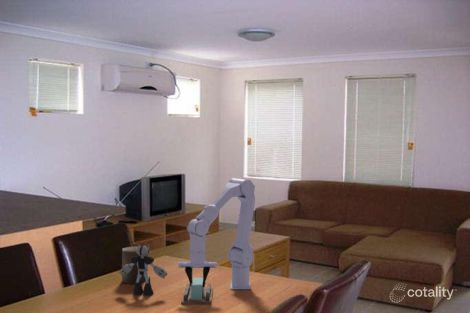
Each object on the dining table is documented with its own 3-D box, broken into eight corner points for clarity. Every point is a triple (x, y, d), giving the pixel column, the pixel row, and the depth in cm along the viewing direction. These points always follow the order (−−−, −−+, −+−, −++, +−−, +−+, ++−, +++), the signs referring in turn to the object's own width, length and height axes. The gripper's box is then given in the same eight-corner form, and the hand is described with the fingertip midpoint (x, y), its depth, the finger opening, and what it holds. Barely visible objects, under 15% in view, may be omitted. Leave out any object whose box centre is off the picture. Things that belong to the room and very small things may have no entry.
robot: (117, 293, 195) (116, 242, 194) (122, 289, 199) (122, 240, 199) (164, 297, 191) (164, 245, 190) (169, 293, 195) (169, 242, 194)
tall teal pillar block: (193, 289, 197) (193, 276, 197) (203, 289, 197) (203, 276, 197) (191, 299, 185) (191, 286, 185) (201, 299, 185) (201, 286, 185)
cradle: (185, 290, 199) (185, 283, 199) (212, 290, 199) (213, 283, 199) (181, 304, 183) (181, 296, 183) (211, 304, 183) (211, 296, 183)
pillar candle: (142, 284, 207) (142, 248, 206) (119, 284, 207) (119, 247, 207) (147, 277, 217) (147, 243, 216) (124, 277, 217) (125, 243, 216)
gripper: (177, 253, 186) (177, 289, 187) (216, 253, 186) (216, 289, 187) (179, 249, 193) (179, 284, 194) (217, 249, 193) (216, 284, 194)
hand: (197, 286), depth 191 cm, fingers closed on tall teal pillar block, 4 cm apart
